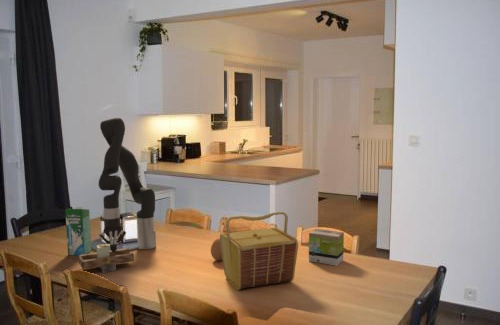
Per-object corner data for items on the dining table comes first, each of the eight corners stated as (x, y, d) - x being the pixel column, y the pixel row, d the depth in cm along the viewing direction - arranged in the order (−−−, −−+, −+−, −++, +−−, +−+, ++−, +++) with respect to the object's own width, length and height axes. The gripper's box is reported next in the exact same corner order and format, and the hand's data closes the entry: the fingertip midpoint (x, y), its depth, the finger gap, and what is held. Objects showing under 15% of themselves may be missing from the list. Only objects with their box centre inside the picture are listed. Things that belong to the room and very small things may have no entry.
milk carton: (91, 250, 263) (89, 205, 260) (84, 255, 254) (81, 208, 251) (75, 250, 264) (73, 205, 261) (67, 255, 255) (65, 208, 252)
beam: (128, 259, 246) (127, 247, 245) (135, 267, 233) (134, 254, 232) (78, 267, 235) (78, 254, 234) (83, 276, 222) (82, 262, 222)
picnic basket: (276, 267, 231) (275, 205, 228) (301, 285, 208) (300, 217, 204) (218, 275, 221) (216, 211, 217) (237, 296, 197) (235, 224, 194)
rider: (107, 257, 236) (106, 243, 235) (109, 260, 232) (108, 245, 231) (97, 258, 234) (96, 244, 233) (98, 261, 230) (98, 247, 229)
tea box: (308, 262, 239) (308, 232, 237) (315, 256, 247) (315, 228, 246) (337, 266, 232) (338, 236, 230) (343, 260, 240) (344, 231, 239)
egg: (207, 261, 241) (207, 239, 239) (216, 257, 248) (216, 235, 247) (222, 264, 237) (221, 241, 236) (230, 259, 244) (230, 237, 243)
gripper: (123, 213, 239) (125, 247, 241) (96, 216, 233) (98, 251, 235) (127, 216, 232) (129, 251, 234) (99, 219, 226) (100, 255, 228)
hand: (113, 251), depth 235 cm, fingers closed
